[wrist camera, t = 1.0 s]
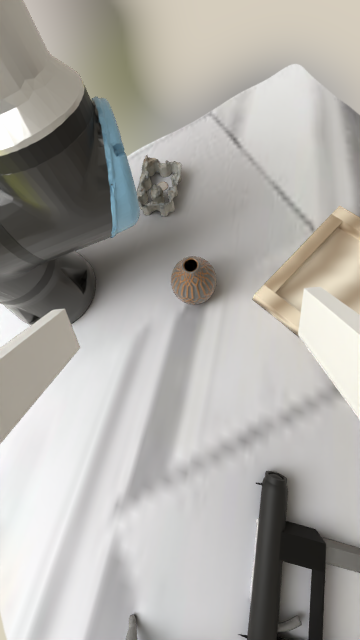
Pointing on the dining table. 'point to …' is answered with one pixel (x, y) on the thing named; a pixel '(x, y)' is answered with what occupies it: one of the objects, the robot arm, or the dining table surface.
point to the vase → (193, 280)
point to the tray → (317, 270)
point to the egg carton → (158, 186)
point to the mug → (132, 629)
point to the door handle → (293, 547)
